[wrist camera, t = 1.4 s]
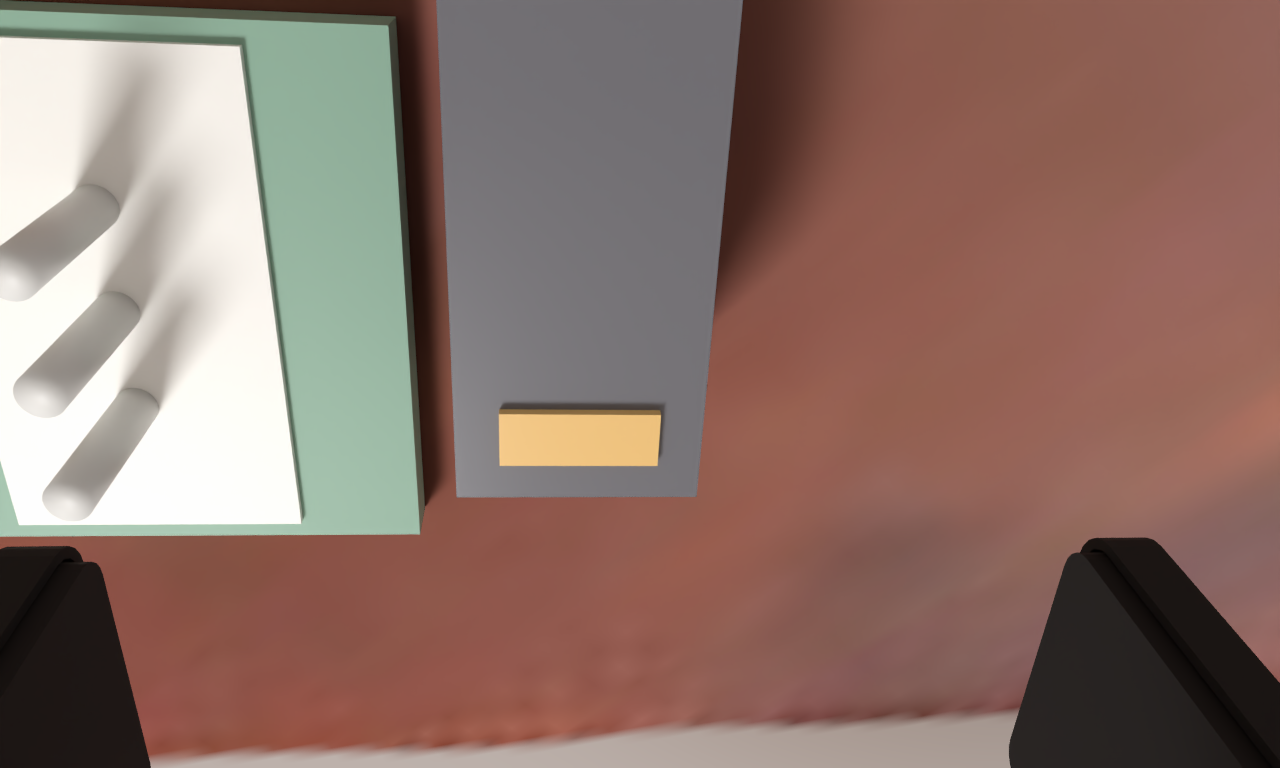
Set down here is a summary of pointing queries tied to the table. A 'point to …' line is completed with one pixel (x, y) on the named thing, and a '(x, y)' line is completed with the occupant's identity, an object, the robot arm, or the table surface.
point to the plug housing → (583, 238)
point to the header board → (204, 274)
